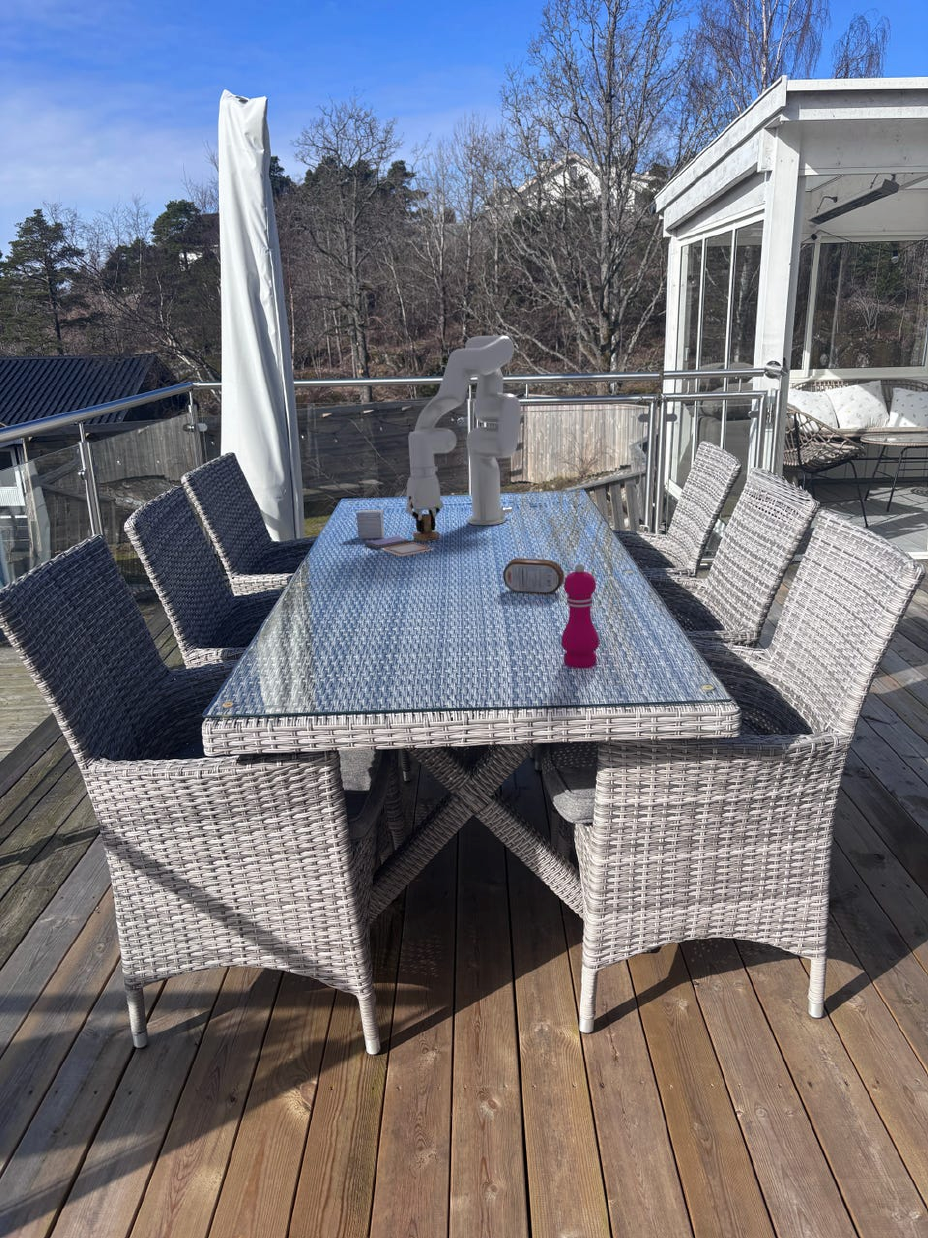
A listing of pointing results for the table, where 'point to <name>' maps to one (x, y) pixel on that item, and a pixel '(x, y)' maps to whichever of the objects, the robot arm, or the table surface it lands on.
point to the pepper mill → (580, 620)
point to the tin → (533, 576)
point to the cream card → (407, 549)
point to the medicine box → (370, 524)
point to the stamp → (426, 531)
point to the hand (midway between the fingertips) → (426, 530)
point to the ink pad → (387, 542)
